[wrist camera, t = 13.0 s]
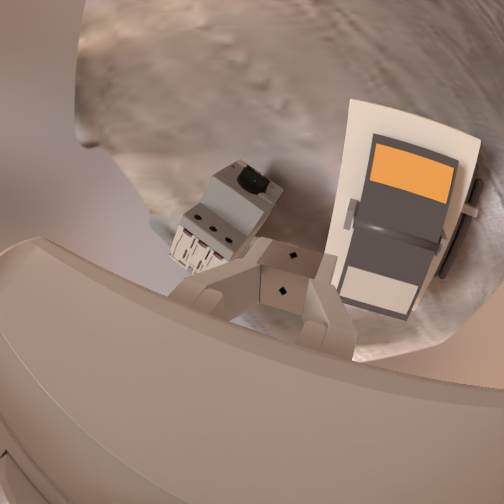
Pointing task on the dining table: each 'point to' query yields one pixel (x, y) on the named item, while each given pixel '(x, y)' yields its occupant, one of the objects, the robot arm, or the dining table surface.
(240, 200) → the circuit breaker
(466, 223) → the dark grey piece
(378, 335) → the dining table surface
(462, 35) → the dining table surface
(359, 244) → the block
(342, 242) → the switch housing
